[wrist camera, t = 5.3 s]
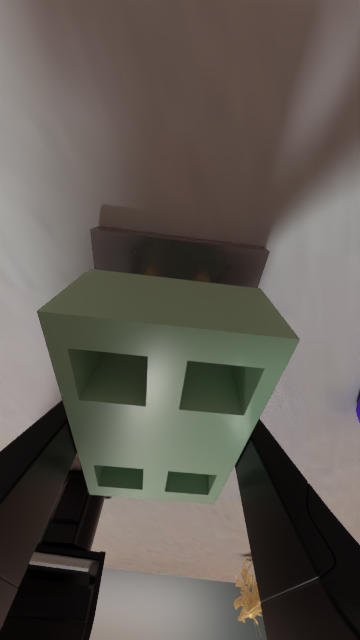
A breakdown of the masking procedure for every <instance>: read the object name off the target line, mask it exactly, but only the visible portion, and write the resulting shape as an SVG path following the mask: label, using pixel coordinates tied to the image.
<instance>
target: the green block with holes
mask: <svg viewBox="0 0 360 640" xmlns="http://www.w3.org/2000/svg"><path fill="white" fill-rule="evenodd" d="M37 313H38V317H39V320H40V324H41V327H42V331H43V334H44V338H45V341H46V345H47V348H48V352H49V355H50V359H51V362H52V366H53V369H54V373H55V376H56V379H57V383H58V386H59V390H60V393H61V397H62V400H63V404H64V407H65V411H66V414H67V418H68V421H69V425H70V428H71V432H72V435H73V439H74V442H75V446H76V449H77V453H78V456H79V460H80V463H81V467H82V470H83V474H84V477H85V481H86V484H87V488H88V491H89V495H102V496H114V497H127V498H140V499H152V500H165V501H178V502H190V503H203V504H215V503H216V501H217V499H218V497H219V495H220V493H221V491H222V489H223V487H224V485H225V484H226V482H227V480H228V478H229V476H230V474H231V472H232V470H233V468H234V466H235V464H236V462H237V460H238V458H239V456H240V454H241V453H242V451H243V449H244V447H245V445H246V443H247V441H248V439H249V437H250V435H251V433H252V431H253V429H254V427H255V425H256V424H257V422H258V420H259V418H260V416H261V414H262V412H263V410H264V408H265V406H266V404H267V402H268V400H269V398H270V396H271V394H272V393H273V391H274V389H275V387H276V385H277V383H278V381H279V379H280V377H281V375H282V373H283V371H284V369H285V367H286V365H287V364H288V362H289V360H290V358H291V356H292V354H293V352H294V350H295V348H296V346H297V344H298V342H299V340H300V339H299V338H298V336H297V335H296V334H295V332H294V331H293V330H292V329H291V327H290V326H289V325H288V323H287V322H286V321H285V320H284V318H283V317H282V316H281V314H280V313H279V312H278V310H277V309H276V308H275V307H274V305H273V304H272V303H271V301H270V300H269V299H268V297H267V296H266V295H265V294H264V292H263V291H262V290H261V289H260V288H251V287H242V286H234V285H225V284H217V283H208V282H199V281H191V280H182V279H173V278H165V277H156V276H148V275H139V274H130V273H122V272H113V271H105V270H96V269H89V270H88V271H87V272H86V273H84V274H83V275H82V276H81V277H79V278H78V279H77V280H76V281H74V282H73V283H72V284H70V285H69V286H68V287H67V288H65V289H64V290H63V291H62V292H60V293H59V294H58V295H57V296H55V297H54V298H53V299H51V300H50V301H49V302H48V303H46V304H45V305H44V306H43V307H41V308H40V309H39V310H38V311H37Z"/></svg>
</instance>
